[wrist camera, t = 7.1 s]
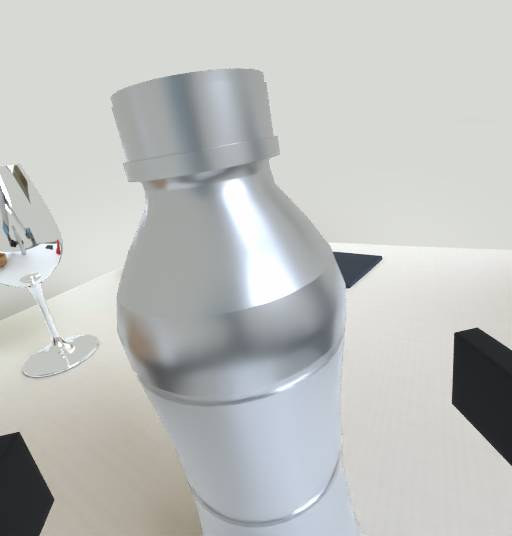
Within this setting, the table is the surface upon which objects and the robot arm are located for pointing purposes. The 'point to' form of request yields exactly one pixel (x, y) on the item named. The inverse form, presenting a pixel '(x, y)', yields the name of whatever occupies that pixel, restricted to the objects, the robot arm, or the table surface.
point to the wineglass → (35, 265)
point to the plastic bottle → (233, 309)
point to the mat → (355, 265)
